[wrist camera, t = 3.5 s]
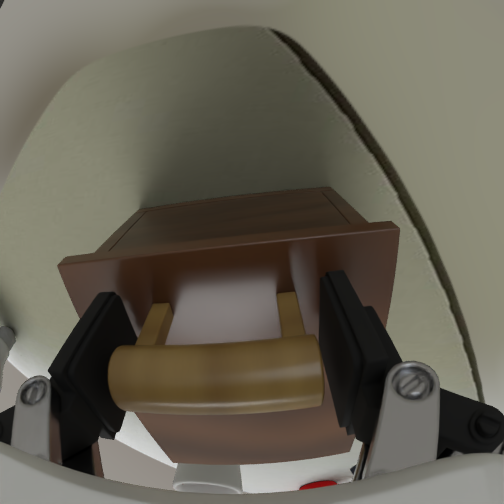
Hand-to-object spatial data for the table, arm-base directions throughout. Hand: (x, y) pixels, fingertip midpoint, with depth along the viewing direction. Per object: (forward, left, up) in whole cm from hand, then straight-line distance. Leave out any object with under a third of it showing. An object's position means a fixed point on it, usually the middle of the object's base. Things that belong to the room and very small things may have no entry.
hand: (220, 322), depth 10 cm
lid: (+6, 0, -2) cm, 6 cm away
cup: (+29, -7, -11) cm, 32 cm away
